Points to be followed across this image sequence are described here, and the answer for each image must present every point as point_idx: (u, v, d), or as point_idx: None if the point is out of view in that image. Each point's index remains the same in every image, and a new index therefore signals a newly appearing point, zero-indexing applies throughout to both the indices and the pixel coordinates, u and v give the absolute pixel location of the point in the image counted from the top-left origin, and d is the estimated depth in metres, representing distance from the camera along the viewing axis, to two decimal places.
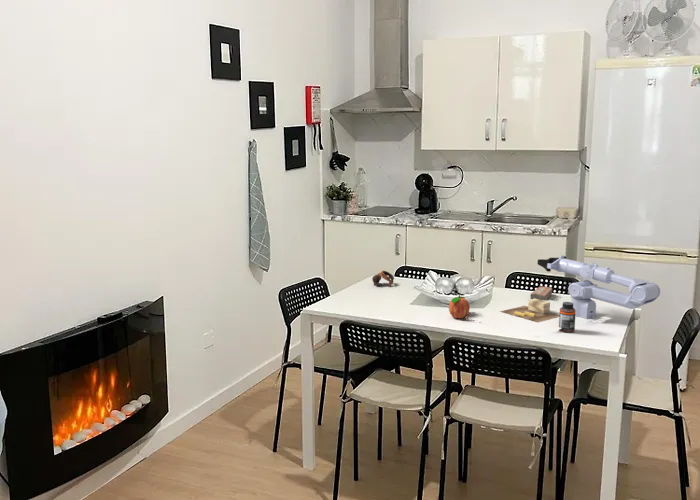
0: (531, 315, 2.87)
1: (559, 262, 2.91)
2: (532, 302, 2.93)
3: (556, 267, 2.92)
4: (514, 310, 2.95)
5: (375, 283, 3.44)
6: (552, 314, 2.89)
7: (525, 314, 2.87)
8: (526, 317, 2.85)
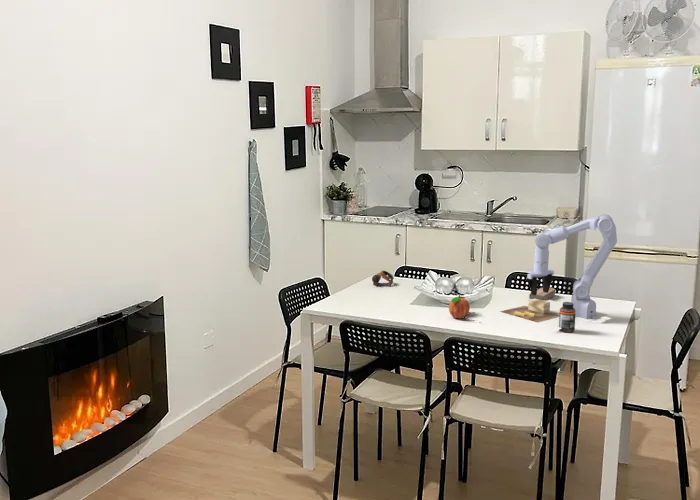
0: (531, 315, 2.87)
1: (534, 270, 2.90)
2: (532, 302, 2.93)
3: (537, 273, 2.88)
4: (514, 310, 2.95)
5: (375, 283, 3.44)
6: (552, 314, 2.89)
7: (525, 314, 2.87)
8: (526, 317, 2.85)
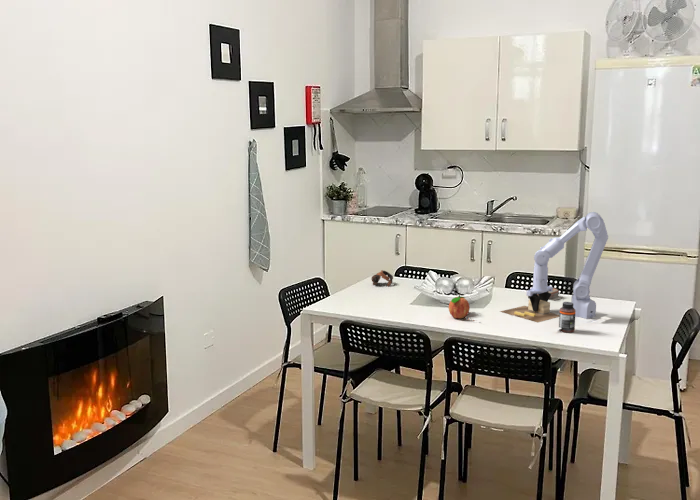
0: (531, 315, 2.87)
1: (533, 287, 2.91)
2: None
3: (536, 290, 2.89)
4: (514, 310, 2.95)
5: (374, 283, 3.45)
6: (552, 314, 2.89)
7: (525, 314, 2.87)
8: (526, 317, 2.85)
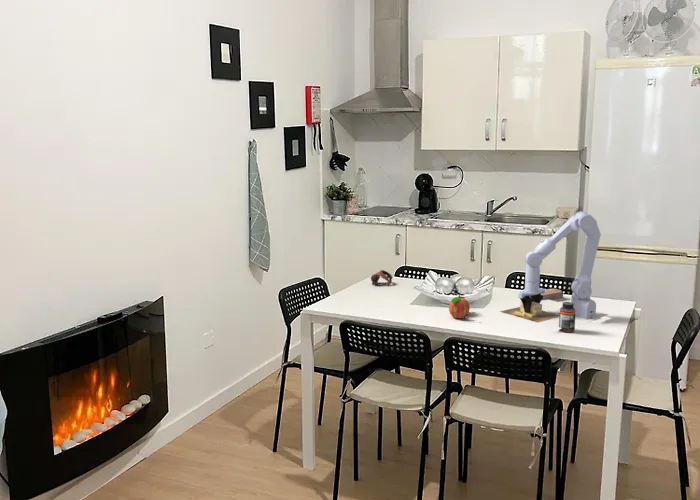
0: (529, 316, 2.86)
1: (525, 289, 2.88)
2: None
3: None
4: (514, 310, 2.95)
5: (374, 282, 3.46)
6: (552, 314, 2.89)
7: (525, 314, 2.87)
8: (526, 317, 2.85)
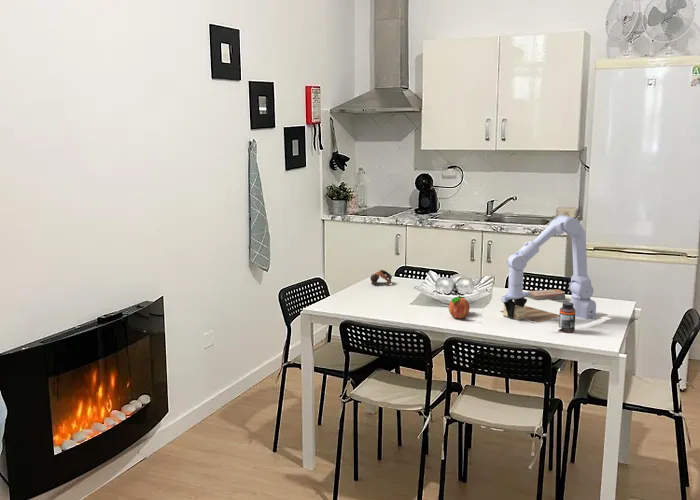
0: None
1: (508, 293, 2.83)
2: None
3: (511, 296, 2.81)
4: None
5: (373, 282, 3.46)
6: (552, 314, 2.89)
7: None
8: (526, 317, 2.85)
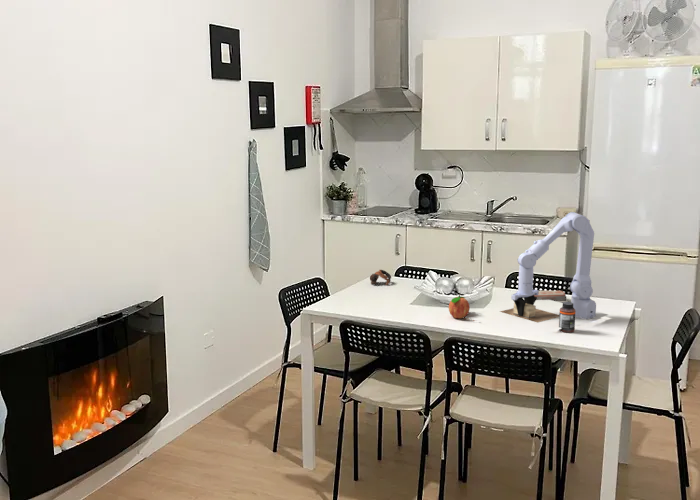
0: None
1: (518, 291, 2.86)
2: None
3: (521, 294, 2.84)
4: None
5: (373, 282, 3.46)
6: (552, 314, 2.89)
7: None
8: None
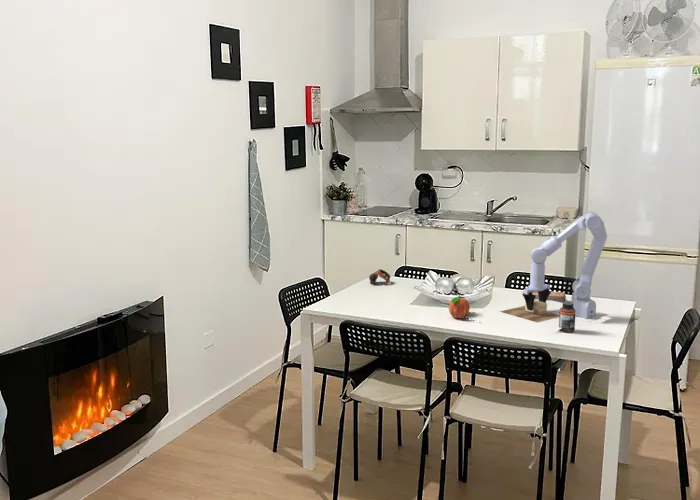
0: None
1: (530, 286, 2.90)
2: None
3: None
4: (514, 310, 2.95)
5: (372, 282, 3.47)
6: (552, 314, 2.89)
7: None
8: (526, 317, 2.85)
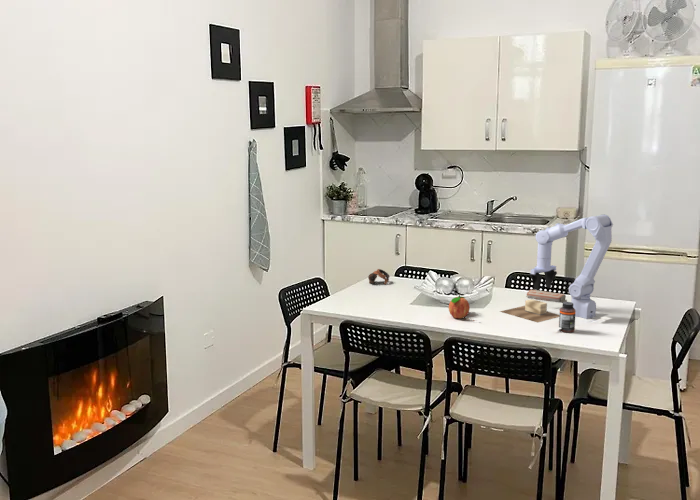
0: None
1: (537, 266, 2.98)
2: (529, 303, 2.92)
3: None
4: (514, 310, 2.95)
5: (371, 281, 3.48)
6: (552, 314, 2.89)
7: None
8: (526, 317, 2.85)
